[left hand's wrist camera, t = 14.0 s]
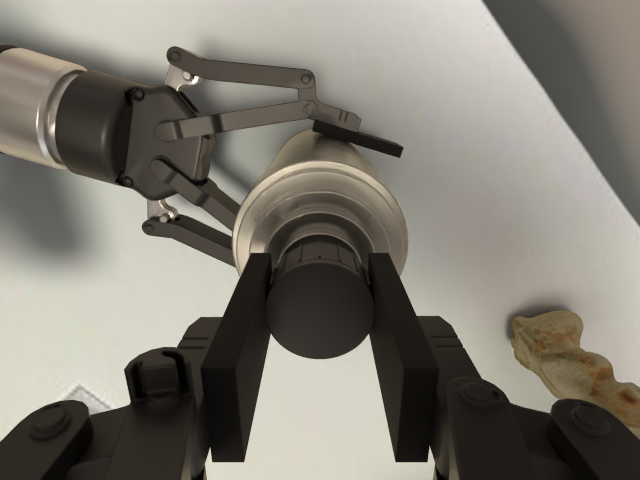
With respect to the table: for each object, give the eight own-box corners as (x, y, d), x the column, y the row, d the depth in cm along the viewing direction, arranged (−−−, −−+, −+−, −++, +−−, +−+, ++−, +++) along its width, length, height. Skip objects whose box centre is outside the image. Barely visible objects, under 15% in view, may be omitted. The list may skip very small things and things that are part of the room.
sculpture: (566, 347, 42) (688, 472, 28) (499, 351, 43) (588, 476, 28) (574, 300, 40) (711, 409, 26) (505, 304, 41) (603, 414, 26)
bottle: (258, 187, 36) (157, 336, 14) (305, 108, 34) (277, 132, 11) (332, 233, 38) (351, 433, 15) (383, 160, 36) (493, 273, 13)
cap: (357, 337, 15) (362, 368, 14) (263, 322, 15) (255, 351, 13) (380, 250, 14) (389, 272, 12) (277, 232, 14) (271, 252, 12)
